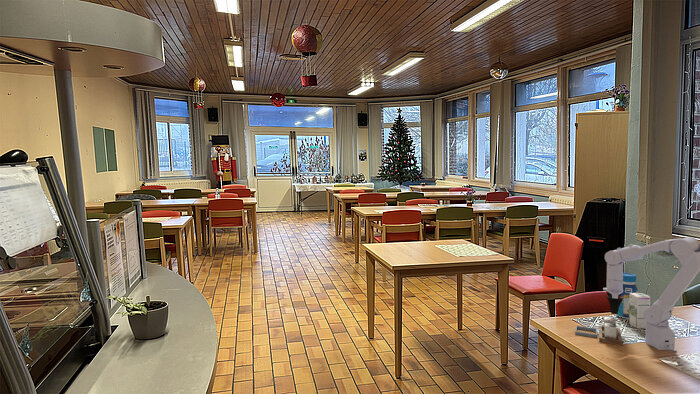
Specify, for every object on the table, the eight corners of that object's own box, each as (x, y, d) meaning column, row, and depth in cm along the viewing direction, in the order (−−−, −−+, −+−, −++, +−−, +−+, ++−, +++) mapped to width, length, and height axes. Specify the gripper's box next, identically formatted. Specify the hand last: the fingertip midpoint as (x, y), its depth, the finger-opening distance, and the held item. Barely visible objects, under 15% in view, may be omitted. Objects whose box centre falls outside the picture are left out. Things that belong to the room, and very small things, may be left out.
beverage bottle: (619, 312, 206) (620, 271, 205) (639, 317, 199) (641, 274, 198) (612, 316, 200) (613, 274, 199) (633, 321, 194) (634, 277, 193)
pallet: (598, 330, 183) (598, 325, 183) (619, 333, 179) (619, 328, 179) (599, 343, 169) (599, 338, 169) (621, 347, 165) (621, 341, 165)
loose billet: (615, 339, 171) (616, 324, 171) (616, 342, 167) (616, 327, 167) (604, 337, 173) (604, 322, 173) (604, 340, 169) (604, 325, 169)
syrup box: (650, 329, 183) (651, 296, 182) (636, 329, 183) (637, 296, 182) (641, 325, 189) (642, 292, 188) (628, 325, 189) (628, 292, 188)
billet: (603, 330, 180) (604, 316, 180) (615, 332, 178) (615, 318, 178) (604, 333, 177) (604, 319, 176) (615, 335, 175) (615, 321, 174)
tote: (575, 330, 183) (576, 325, 183) (596, 333, 180) (597, 328, 179) (575, 336, 177) (575, 331, 177) (597, 339, 173) (597, 334, 173)
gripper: (603, 274, 187) (602, 305, 187) (603, 281, 174) (603, 314, 175) (622, 276, 183) (621, 307, 184) (624, 283, 170) (623, 317, 171)
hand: (613, 311), depth 179 cm, fingers open, 7 cm apart
